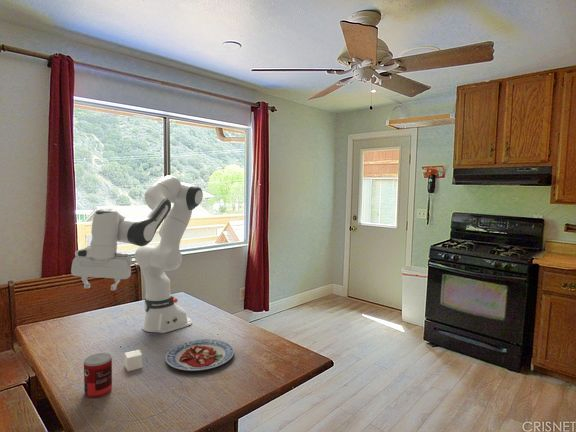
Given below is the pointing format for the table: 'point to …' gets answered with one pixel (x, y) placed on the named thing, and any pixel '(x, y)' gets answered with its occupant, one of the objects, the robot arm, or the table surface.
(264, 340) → the table surface
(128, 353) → the cream block
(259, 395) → the table surface
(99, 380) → the canned food
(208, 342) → the ceramic plate
